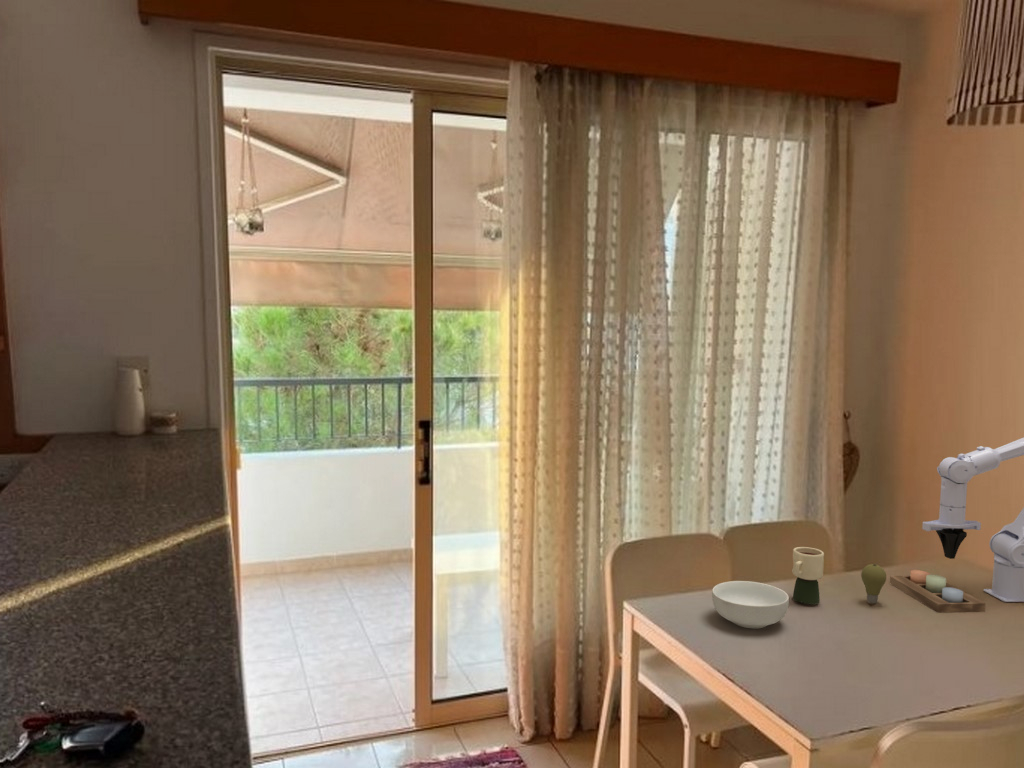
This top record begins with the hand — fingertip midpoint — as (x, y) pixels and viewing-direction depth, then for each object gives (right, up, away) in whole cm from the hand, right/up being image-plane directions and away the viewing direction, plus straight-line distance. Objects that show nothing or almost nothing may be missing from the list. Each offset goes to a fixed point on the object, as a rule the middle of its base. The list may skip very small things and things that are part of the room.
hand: (949, 557), depth 194 cm
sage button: (-4, -8, -1) cm, 9 cm away
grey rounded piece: (-4, -10, -7) cm, 13 cm away
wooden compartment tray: (-4, -10, -1) cm, 11 cm away
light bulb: (-23, -10, -6) cm, 26 cm away
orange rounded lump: (-5, -9, +6) cm, 11 cm away
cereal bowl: (-57, -11, -18) cm, 61 cm away
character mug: (-39, -10, -6) cm, 41 cm away
